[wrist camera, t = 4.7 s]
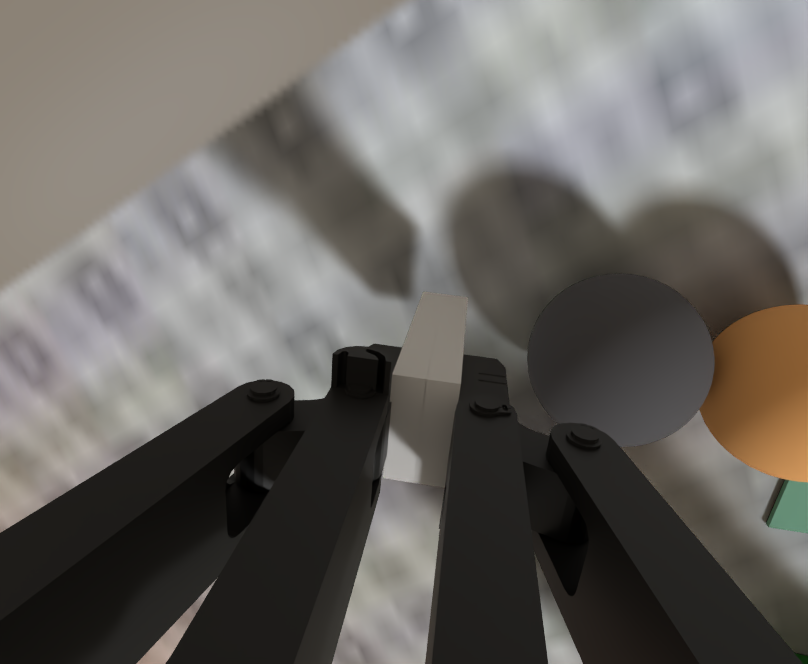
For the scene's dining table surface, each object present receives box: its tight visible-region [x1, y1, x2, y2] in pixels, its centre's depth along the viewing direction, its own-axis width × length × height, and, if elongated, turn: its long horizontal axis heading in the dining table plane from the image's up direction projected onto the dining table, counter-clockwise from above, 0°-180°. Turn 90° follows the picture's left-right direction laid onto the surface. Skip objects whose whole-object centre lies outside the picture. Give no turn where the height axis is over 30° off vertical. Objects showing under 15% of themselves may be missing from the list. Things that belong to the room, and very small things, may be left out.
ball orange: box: [699, 305, 808, 482], centre depth 16 cm, size 6×6×6 cm
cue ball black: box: [527, 274, 715, 447], centre depth 17 cm, size 6×6×6 cm
